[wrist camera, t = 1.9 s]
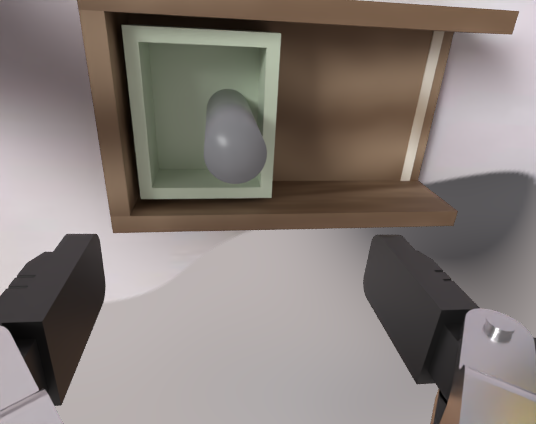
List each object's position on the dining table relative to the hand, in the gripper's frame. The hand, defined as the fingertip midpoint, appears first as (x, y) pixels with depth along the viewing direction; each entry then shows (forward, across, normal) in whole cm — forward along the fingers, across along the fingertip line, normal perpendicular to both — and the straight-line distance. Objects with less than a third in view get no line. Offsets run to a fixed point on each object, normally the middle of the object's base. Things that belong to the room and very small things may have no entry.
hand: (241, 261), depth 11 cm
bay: (+20, -5, -1) cm, 21 cm away
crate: (+19, +1, -1) cm, 19 cm away
